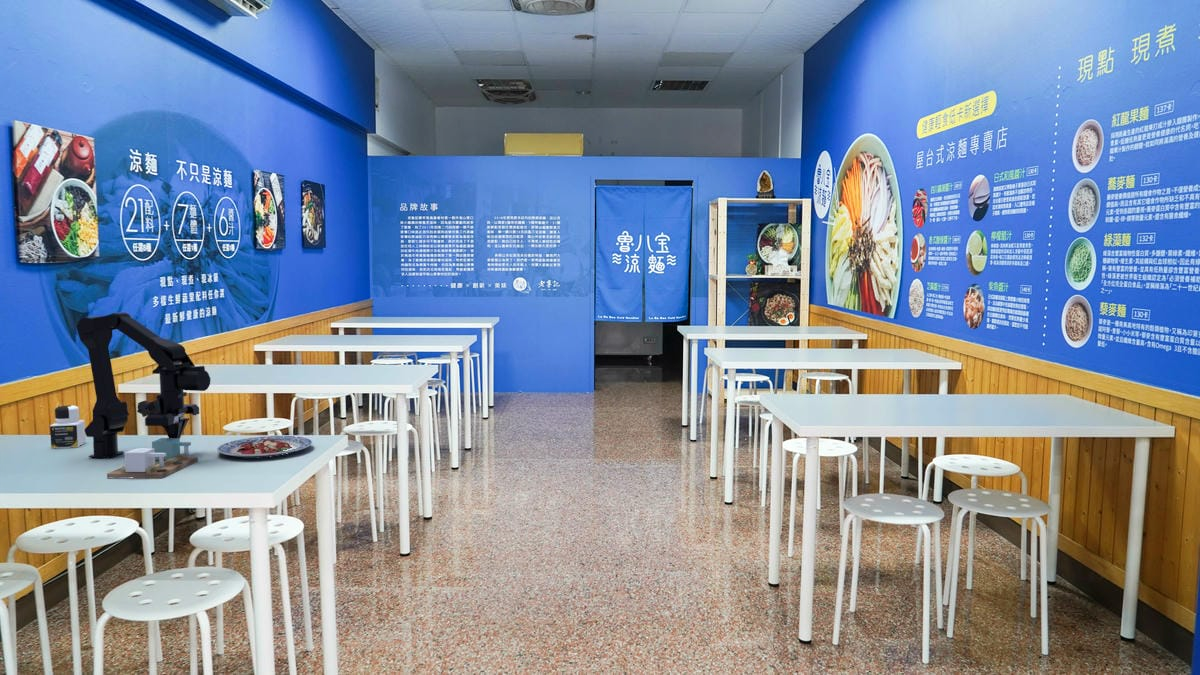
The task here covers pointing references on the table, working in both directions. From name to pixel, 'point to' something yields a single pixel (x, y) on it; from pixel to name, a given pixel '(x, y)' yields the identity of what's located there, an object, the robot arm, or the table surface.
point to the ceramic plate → (263, 446)
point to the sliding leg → (170, 447)
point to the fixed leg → (142, 459)
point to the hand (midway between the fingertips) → (174, 445)
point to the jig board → (157, 468)
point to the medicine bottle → (67, 428)
